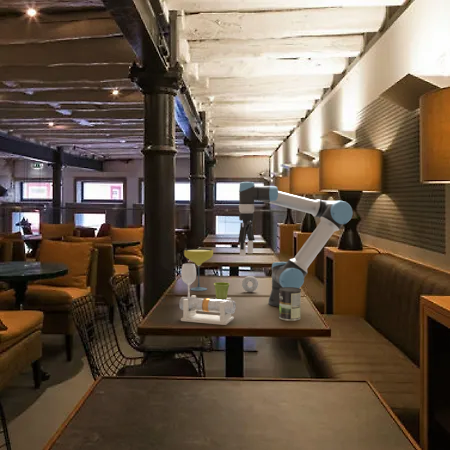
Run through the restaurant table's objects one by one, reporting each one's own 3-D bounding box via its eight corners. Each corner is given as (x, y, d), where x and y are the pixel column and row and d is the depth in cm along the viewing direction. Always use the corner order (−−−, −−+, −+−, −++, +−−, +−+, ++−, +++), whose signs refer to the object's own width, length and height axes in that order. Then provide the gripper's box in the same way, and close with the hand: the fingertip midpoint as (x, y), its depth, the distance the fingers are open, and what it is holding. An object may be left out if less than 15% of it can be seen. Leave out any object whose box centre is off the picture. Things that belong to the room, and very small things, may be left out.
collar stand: (233, 318, 231) (233, 297, 231) (225, 324, 220) (225, 303, 219) (190, 315, 238) (190, 294, 238) (180, 320, 227) (180, 299, 226)
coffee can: (279, 320, 228) (280, 290, 227) (278, 315, 238) (278, 287, 237) (302, 321, 227) (302, 291, 226) (299, 315, 237) (299, 287, 237)
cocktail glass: (212, 292, 298) (212, 251, 296) (183, 292, 298) (182, 251, 297) (213, 286, 316) (213, 248, 314) (185, 286, 316) (185, 248, 315)
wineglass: (184, 304, 263) (184, 265, 262) (178, 301, 271) (178, 263, 270) (199, 302, 267) (199, 264, 266) (192, 299, 275) (192, 262, 274)
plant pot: (230, 297, 283) (230, 282, 282) (229, 300, 273) (229, 285, 273) (214, 296, 284) (214, 282, 283) (212, 300, 274) (212, 284, 274)
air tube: (235, 312, 227) (235, 299, 227) (231, 314, 221) (231, 301, 222) (184, 308, 236) (184, 296, 236) (179, 310, 230) (179, 297, 230)
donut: (258, 291, 300) (258, 275, 299) (258, 292, 296) (258, 276, 296) (241, 291, 300) (241, 275, 299) (241, 292, 296) (241, 276, 296)
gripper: (246, 212, 258) (246, 251, 259) (231, 213, 235) (231, 257, 236) (260, 212, 256) (260, 252, 257) (246, 213, 232) (246, 257, 233)
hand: (246, 254), depth 246 cm, fingers open, 13 cm apart
